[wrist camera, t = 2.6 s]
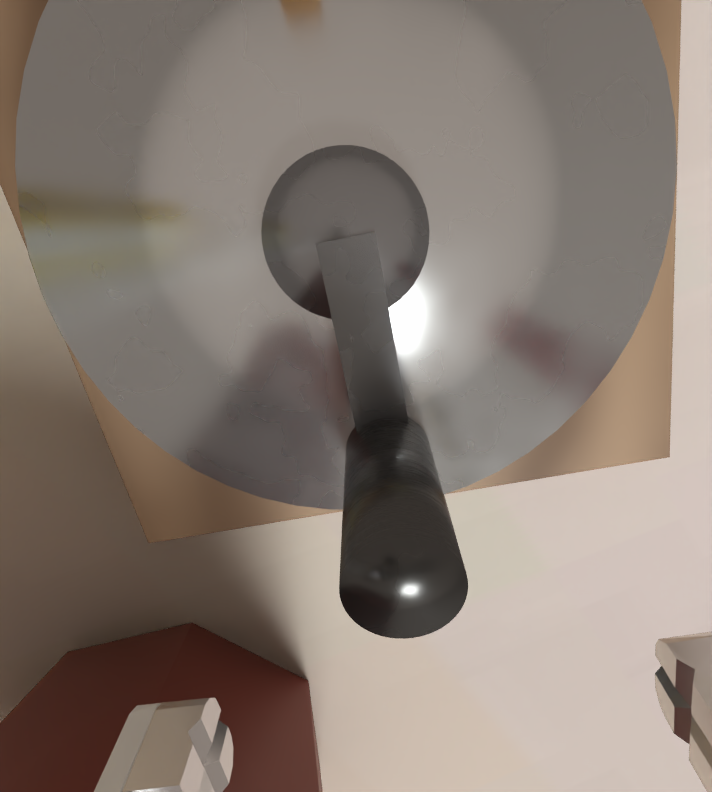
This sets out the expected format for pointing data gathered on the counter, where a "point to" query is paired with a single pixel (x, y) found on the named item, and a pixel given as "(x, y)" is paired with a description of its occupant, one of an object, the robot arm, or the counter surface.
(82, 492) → the counter surface
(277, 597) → the counter surface
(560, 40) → the handwheel
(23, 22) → the walnut base
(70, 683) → the bucket
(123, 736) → the robot arm
